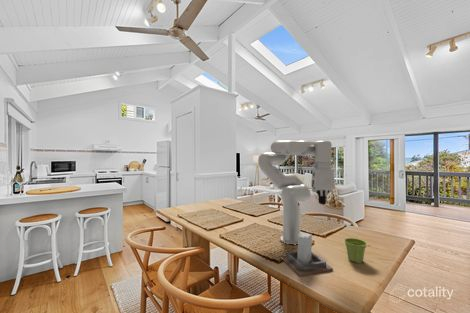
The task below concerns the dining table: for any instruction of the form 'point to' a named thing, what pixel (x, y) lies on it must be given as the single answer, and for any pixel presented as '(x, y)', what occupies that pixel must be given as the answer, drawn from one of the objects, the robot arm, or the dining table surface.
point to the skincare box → (304, 248)
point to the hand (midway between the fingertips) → (322, 203)
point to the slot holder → (306, 269)
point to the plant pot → (355, 249)
